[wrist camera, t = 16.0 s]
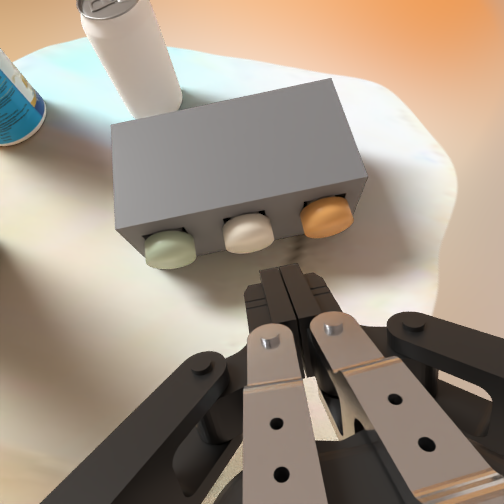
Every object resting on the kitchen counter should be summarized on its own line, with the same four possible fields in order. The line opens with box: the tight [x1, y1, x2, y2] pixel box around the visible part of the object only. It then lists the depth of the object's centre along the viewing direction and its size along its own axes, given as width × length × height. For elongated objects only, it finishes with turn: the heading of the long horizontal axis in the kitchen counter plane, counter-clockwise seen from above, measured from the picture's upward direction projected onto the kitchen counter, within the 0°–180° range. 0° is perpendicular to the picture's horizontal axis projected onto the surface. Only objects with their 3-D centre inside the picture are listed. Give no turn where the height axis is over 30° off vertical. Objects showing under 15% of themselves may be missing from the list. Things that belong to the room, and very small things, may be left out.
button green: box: [144, 227, 196, 269], centre depth 29 cm, size 4×5×4 cm
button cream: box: [222, 212, 274, 254], centre depth 29 cm, size 4×5×4 cm
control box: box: [111, 78, 368, 258], centre depth 31 cm, size 19×10×8 cm, turn 101°
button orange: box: [300, 195, 354, 238], centre depth 29 cm, size 4×5×4 cm
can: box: [76, 0, 182, 119], centre depth 35 cm, size 6×6×12 cm
